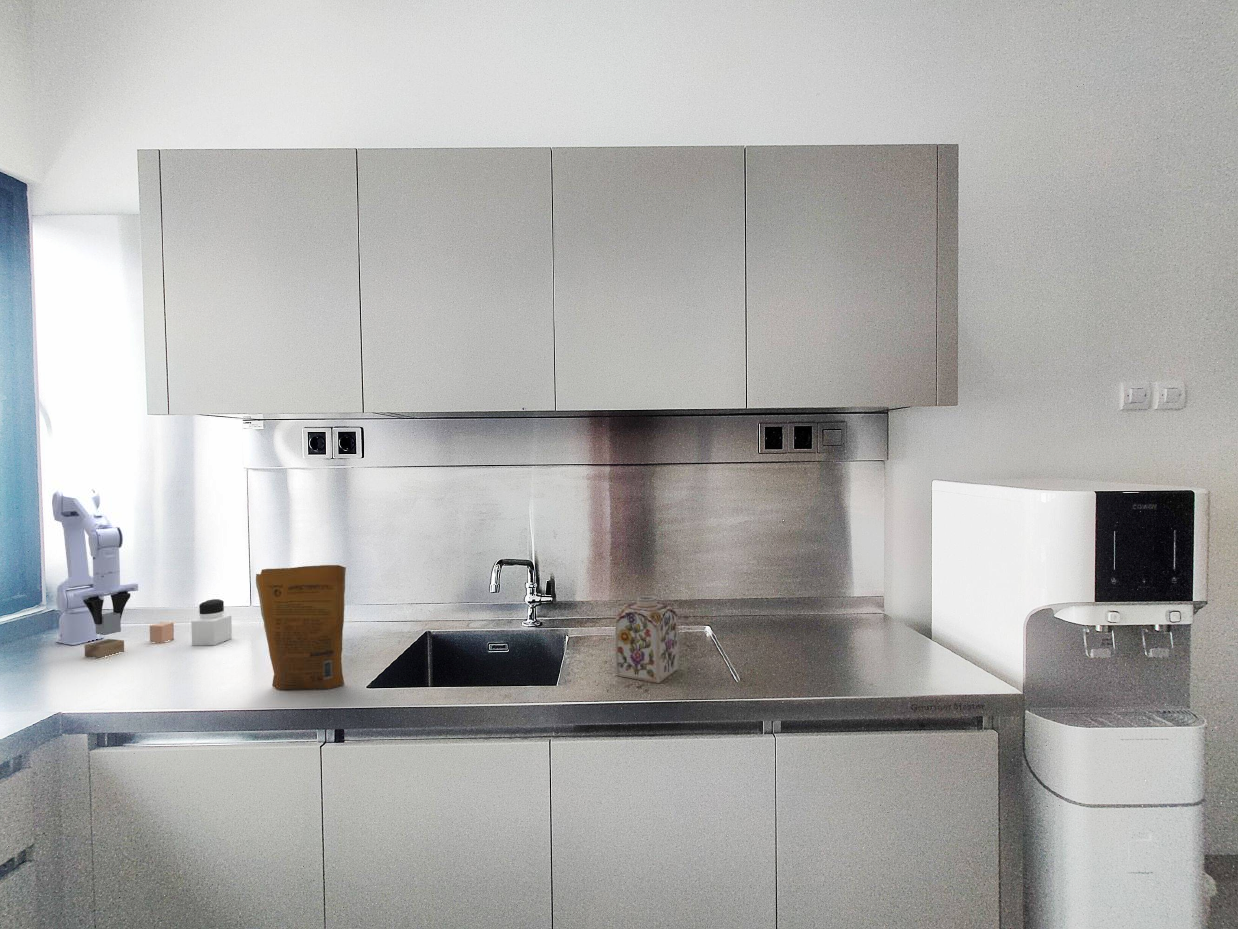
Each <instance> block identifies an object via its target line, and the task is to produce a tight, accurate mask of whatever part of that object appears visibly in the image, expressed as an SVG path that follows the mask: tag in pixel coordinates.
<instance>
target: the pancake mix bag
mask: <svg viewBox="0 0 1238 929" xmlns="http://www.w3.org/2000/svg"><path fill="white" fill-rule="evenodd" d="M346 570H347V567H346V566H344V565H343V566H342V565H339V564H322V565H304V566H297V567H296V566H294V567H289V568H288V567H283V568H282V567H280V568H264V569H261V572H260V573H256V574H255V585H256V589H257V593H258V594H257V595H258V599H259V606H260V613H261V617H262V621H263V627H264V632H265V636H266V641H267V648H268V653H269V657H270V662H271V666H272V670H273V679H272V685H271V686H272V687H273V688H274V687H275V688H276V690H277V689H278V690H277V691H282V690H283V691H306V690H307V691H309V690H331V689H336V688H338V687H341V686H344V685H345V679H344V674H343V664H342V655H343V654H342V653H343V635H344V634H343V632H344V624H345V594H346V574H347V573H346ZM275 688H274V689H275Z"/></svg>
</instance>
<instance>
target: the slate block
mask: <svg viewBox="0 0 1238 929" xmlns="http://www.w3.org/2000/svg"><path fill="white" fill-rule="evenodd" d="M121 620H122V618H121V619H120V613H114V612H113V611H111V612H107V613H102V624H100V625H97V624H95V627H96V634H97V635H98V636H108V635H111V634H116V633H120V632H121V631H122V627H121Z"/></svg>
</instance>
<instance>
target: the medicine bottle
mask: <svg viewBox="0 0 1238 929" xmlns="http://www.w3.org/2000/svg"><path fill="white" fill-rule="evenodd" d="M224 605H225V604H224V600H222V599H218V598H217V599H216V598H215V599H214V598H212V599H207V600H203V601H201V602H199V603H198V616H199V617H198V618H197V617H196V618H195V619H191V624H190V625H191V645H192V646H217V645H219V643H220V644H223V642H224V641H225V642H227V641H230V640H232V638H233V637H232V636H233V634H232V633H233V632H232V631H233V630H232V629H233V628H232V626H233V625H232V615H231V614H224V613H225V609H224V608H225V606H224ZM226 640H227V641H226ZM225 642H224V643H225Z"/></svg>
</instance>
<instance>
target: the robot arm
mask: <svg viewBox="0 0 1238 929" xmlns="http://www.w3.org/2000/svg"><path fill="white" fill-rule="evenodd" d="M100 504H101V498H100V493H99V492H98V491H97V490H96V489H89V490H68V491H67V490H64V491H60V490H57V491H54V493H53V494H52V500H51V506H52V508H51V509H52V516H53V519H54V521H55V522H59V523H61V525H62V529H63V537H64V538H63V539H64V548H65V556H66V557H65V558H66V566H67V575H68V577H67V578H66V579H65V580H64V581H63V582H61V583H60V584H59V585H58V586H57V588H56V607H57V609H58V611H60V612H61V613H62V614H61V615H60V616H59V618H58V629H59V630H58V633H59V634H58V637H59V639H56V640H55V643H59V644H64V645H69V646H75V645H81V644H85V643H89V642H88V641H90V642H93V641H92V640H94V641H97V640H96V639H98V640H102V639H101V638H103V639H105V635H99V634H96V627H95V624H97V625H100V624H102V614H103V606H104V601H105V597H107V596H110V597H111V598H110V599H111V602H112V612H114V613H120V619H121V620H122V616H123V612H124V609H125V607H126V604H127V603H128V601H129V599H130V598H131V593H129V592H137V591H139V584H138V583H127V584H121V569H120V568H121V567H120V565H121V564H120V549H121V548H122V546H123V541H124V536H123V532H122V529H121V527H119V526H113V525H112V523H111V521H110V520H109V519H108V517H107V516H106V515H105V514H104V513H100V512H99V510H98V509H99V508H100ZM86 535H87V536H88V547H89V554H90V557H91V558H92V576H91V575H90V568H89V561H88V560H89V559H88V552H87V542H86Z"/></svg>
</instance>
